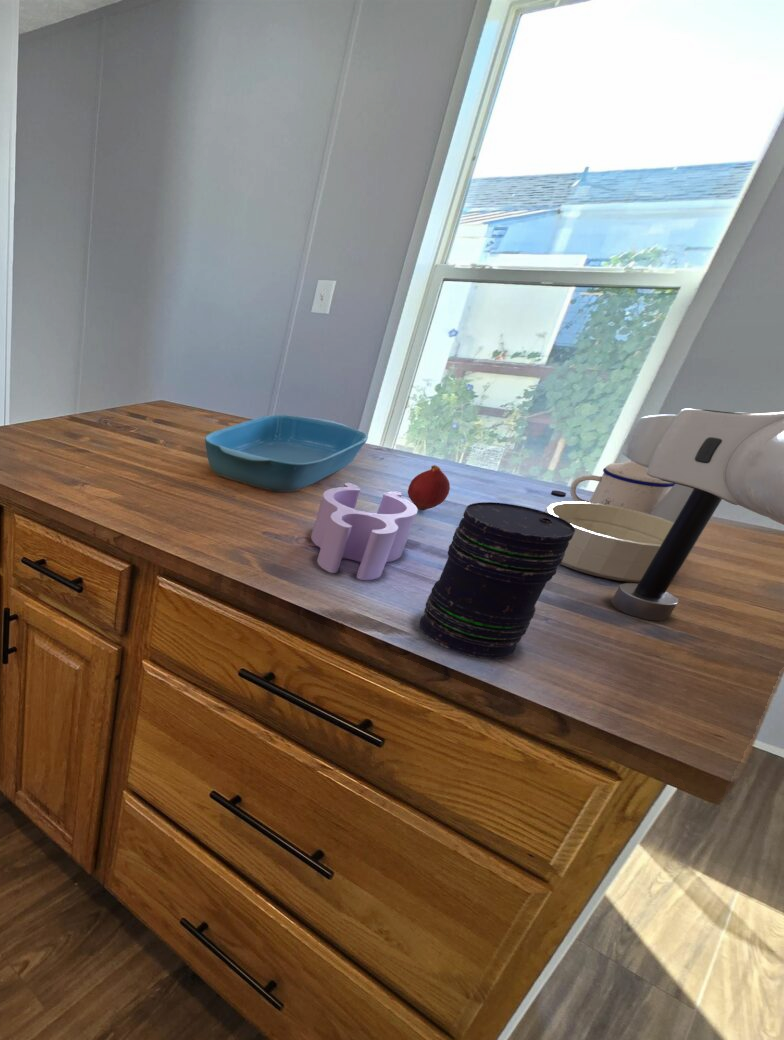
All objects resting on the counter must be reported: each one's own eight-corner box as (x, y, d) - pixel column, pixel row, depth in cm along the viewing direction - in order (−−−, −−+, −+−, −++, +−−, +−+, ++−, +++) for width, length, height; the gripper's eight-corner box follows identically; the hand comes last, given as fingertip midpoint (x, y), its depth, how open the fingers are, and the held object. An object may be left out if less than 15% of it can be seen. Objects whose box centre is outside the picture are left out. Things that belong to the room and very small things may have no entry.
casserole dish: (289, 507, 113) (299, 467, 109) (178, 474, 127) (185, 438, 124) (374, 465, 134) (385, 430, 131) (271, 441, 149) (279, 409, 145)
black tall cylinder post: (662, 606, 84) (743, 475, 76) (673, 625, 80) (759, 489, 72) (607, 594, 87) (678, 466, 78) (614, 612, 83) (691, 479, 74)
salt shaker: (671, 554, 98) (720, 470, 92) (626, 539, 103) (670, 459, 97) (691, 547, 101) (740, 466, 94) (646, 533, 105) (690, 455, 99)
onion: (423, 503, 116) (439, 459, 112) (448, 515, 111) (466, 470, 107) (394, 504, 115) (409, 460, 111) (418, 517, 110) (435, 471, 106)
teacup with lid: (647, 523, 109) (685, 455, 103) (653, 540, 103) (694, 469, 97) (557, 506, 115) (588, 441, 110) (558, 522, 109) (591, 453, 103)
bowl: (658, 553, 99) (680, 516, 96) (687, 597, 87) (713, 557, 84) (525, 529, 106) (542, 494, 103) (535, 566, 94) (553, 528, 91)
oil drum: (446, 657, 73) (513, 507, 64) (401, 612, 82) (455, 474, 73) (537, 661, 73) (617, 510, 64) (483, 615, 82) (547, 477, 73)
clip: (397, 588, 88) (414, 541, 84) (298, 565, 93) (311, 520, 90) (403, 537, 103) (419, 495, 99) (318, 519, 108) (329, 479, 105)
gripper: (1015, 457, 50) (921, 446, 60) (662, 404, 60) (635, 403, 71) (954, 535, 52) (874, 511, 63) (625, 472, 62) (604, 460, 73)
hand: (745, 453), depth 67 cm, fingers open, 8 cm apart
